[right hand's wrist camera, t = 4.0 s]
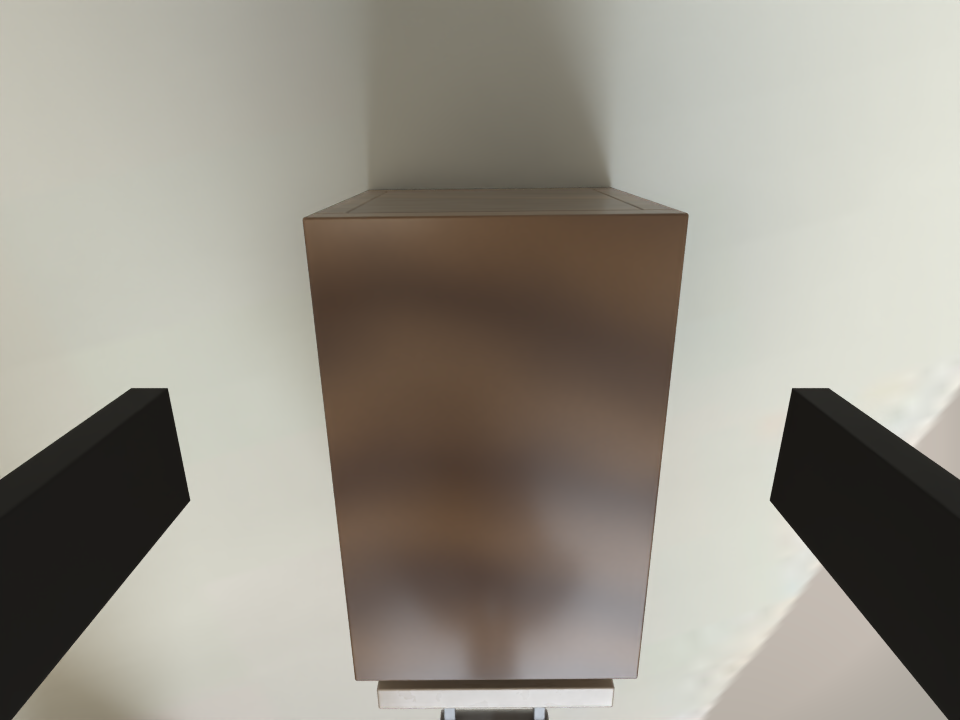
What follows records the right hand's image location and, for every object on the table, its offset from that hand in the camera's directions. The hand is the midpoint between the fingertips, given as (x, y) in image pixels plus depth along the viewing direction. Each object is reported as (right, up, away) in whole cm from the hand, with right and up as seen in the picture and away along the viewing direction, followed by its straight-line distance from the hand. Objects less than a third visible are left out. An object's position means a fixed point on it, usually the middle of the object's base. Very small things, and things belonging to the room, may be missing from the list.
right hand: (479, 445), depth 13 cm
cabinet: (+1, +1, +19) cm, 19 cm away
